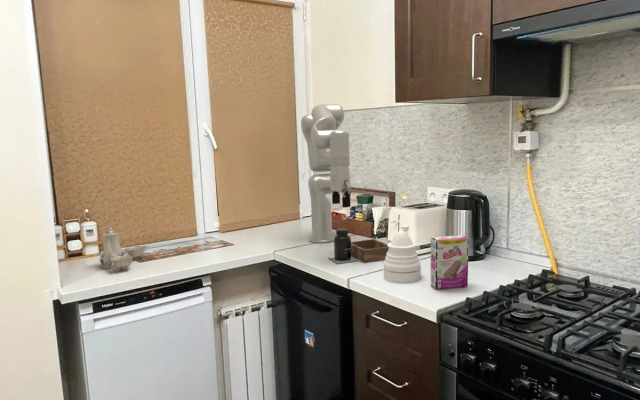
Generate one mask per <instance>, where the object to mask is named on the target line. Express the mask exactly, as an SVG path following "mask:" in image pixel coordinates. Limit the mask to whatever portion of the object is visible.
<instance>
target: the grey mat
mask: <svg viewBox="0 0 640 400" xmlns="http://www.w3.org/2000/svg"><path fill="white" fill-rule="evenodd" d="M328 260H329V261H331V262H332V263H335V264H337V265H342V264H343V265H344V264H348V263H356V262H359V260H358V259H356V258H354V257H352V256H351V259H349V260H344V261H341V260H336V259H335V258H334V256H332V257H328Z"/></svg>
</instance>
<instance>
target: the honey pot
mask: <svg viewBox="0 0 640 400" xmlns="http://www.w3.org/2000/svg"><path fill="white" fill-rule="evenodd" d="M401 229H402V230H398V231H397V232H396V233H395V235H394V236H393V238H392V240H391V242H390V241H389V242H388V243H387V244H388V245H387V246H388V248H389V249H388V252H387V254H386V255H387V256H386V258H385V260H383V279H384V280H385V281H386V282H387V281H388V282H390V283H394V284H395V283H396V284H411V283H415V282H418V281H420V280H421V278H422V268H421V267H422V266H421V264H422V263H421V261H420V257H419V255H418V252H417V249H416V247H417V244H416V243H415V242H413V241H412V238H411V237H410V235H409V234H408V233H407V232H408V231H409V229H410V226H409V225H408V224H407V225H401Z"/></svg>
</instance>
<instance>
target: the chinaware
mask: <svg viewBox="0 0 640 400" xmlns="http://www.w3.org/2000/svg"><path fill="white" fill-rule="evenodd" d="M102 237H103V240H104V246H103V247H104V248H103V251H102V253H101V255H100V257H99V260H98V261H99V262H100V264H102V268H104V269H111V270H112V271H117V272H127V271H128V268H130V267H131V264H132V263H133V261H139V260H142V258H141V257H143V256H144V253H145V249H146V248H147V245H139V244H137V245H133V246H132V247H131V246H127V247H125V249H124V251H126V253H127V254H126V253H125V252H124V251H123V249H122V247H121V245H120V239H119V237H120V232H119V231H118V232H116V231H115V230H113V228H112V227H111V226H110V227H109V228H108V230H107V231H106V232H105V233H103V234H102ZM132 260H133V261H132Z"/></svg>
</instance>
